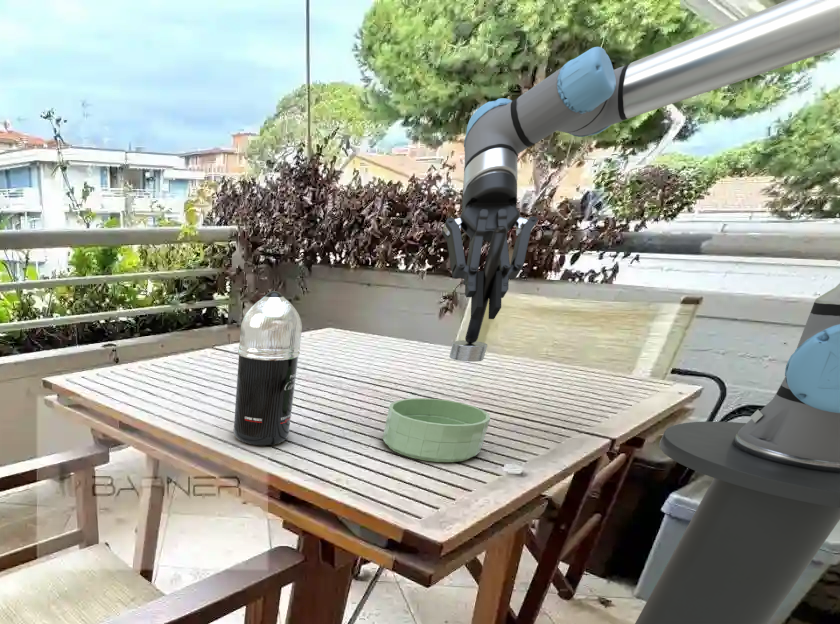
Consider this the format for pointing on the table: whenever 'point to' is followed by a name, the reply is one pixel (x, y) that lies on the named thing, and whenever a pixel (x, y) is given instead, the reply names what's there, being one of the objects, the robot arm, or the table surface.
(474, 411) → the bowl
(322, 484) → the table surface
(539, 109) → the robot arm
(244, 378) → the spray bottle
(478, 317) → the grey disc on rod
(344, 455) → the table surface
